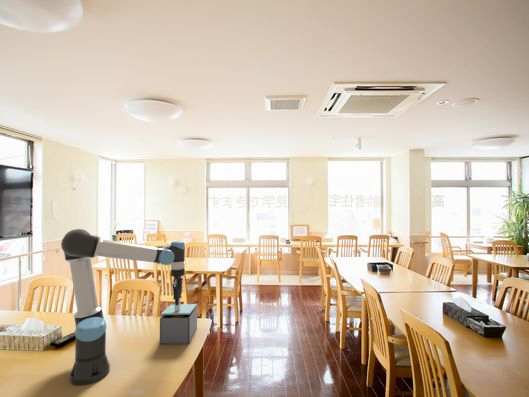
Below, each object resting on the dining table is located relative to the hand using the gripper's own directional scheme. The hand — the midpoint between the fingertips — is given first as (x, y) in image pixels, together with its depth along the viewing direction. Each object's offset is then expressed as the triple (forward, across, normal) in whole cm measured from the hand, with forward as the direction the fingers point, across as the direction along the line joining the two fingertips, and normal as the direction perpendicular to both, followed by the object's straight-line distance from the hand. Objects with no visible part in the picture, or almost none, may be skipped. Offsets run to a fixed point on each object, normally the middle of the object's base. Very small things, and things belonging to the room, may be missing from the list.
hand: (177, 310), depth 160 cm
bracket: (+16, +4, 0) cm, 16 cm away
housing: (+16, +4, 0) cm, 17 cm away
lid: (+2, +5, 0) cm, 5 cm away
